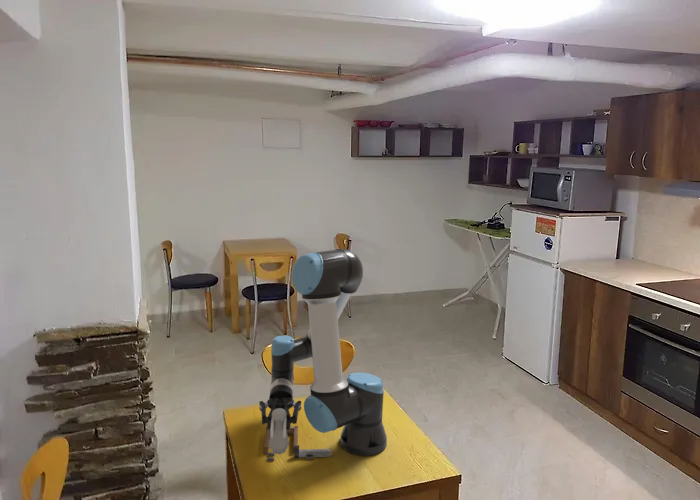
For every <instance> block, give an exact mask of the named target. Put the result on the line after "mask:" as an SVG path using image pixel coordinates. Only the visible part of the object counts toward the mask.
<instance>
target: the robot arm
mask: <svg viewBox="0 0 700 500" xmlns="http://www.w3.org/2000/svg"><path fill="white" fill-rule="evenodd" d="M292 267H293V268H292V275H291V276H292V277H291V279H292V285H293V286H294V289H295V291H296V292H297V293H298V294H300V295H301V299H302V300H303V301H304V302H305V303H307V310H308V321H309V329H308V330H307V332H306V334H305V336H302V337H300V338H296V339H294V338H293V337H292V336H291V335H285V334H283V335H277V336H275V337H274V338H273V339H272V340H271V350H270V352H271V378H270V379H271V381H270V388H269V397H268V399H267V401H266V402H265V401H263V400H260V401H259V407H258V408H259V410H260V413H261V424H262V425H265V424H266V428H267V429H268V430H269V429H270V438H273V433H274V419H273V418H272V412H273V410H275V409H278V408H282V409H284V410H286V413H287V416H286V419H284V425H283V438H286V429H290V426H291V424H292V425H293V424H294V425H296V424H297V421H298V418H299V412H300V411H301V410H302V401H301V400H298V401H295V400H294V398H293V397H294V396H293V395H294V380H295V379H294V377H295V375H294V368H295V367H294V364H295V363H296V362H300V361H303V360H307V359H311V358H312V365H313V366H312V367H313V376H314V381H313V382H312V383H311V384H310V386H309V388H310V389H309V390H310V395H308V396H306V398H305V399H304V402H303V410H304V413H305V418H306V419H307V421H308V422H309V424H310V425H311V427H312V428H313V429H314V430H315V431H316V432H319V433H323V434H325V433H330V432H333V431H336V430H337V429H340V428H342V427H343V428H342V431H341V433H340V441H339V443H340V446H341V448H342V449H344V451H346V452H347V453H350V454H353V455H355V456H363V457H364V456H374V455H376V454H377V455H378V454H380V453H381V452H383V451H384V450H385V449H386V448H387V444H388V440H387V439H388V437H387V433H386V430H385V426H384V424H383V410H384V407H383V405H384V394H385V392H384V383H383V381H382V379H381V378H380V377H379V376H376V375H374V374H371V373H367V372H353V373H350V374H348V376H347V378H346V379H344V377H343V367H342V365H343V364H342V356H341V355H342V352H341V343H340V332H339V331H340V329H339V319H340V317H341V315H342V313H343V311H344V309H345V307H346V305H347V303H348V301H350V297H351V296H352V295H353V294H355V293H356V292H357V291H358V289H359V288H360V285H361V283H362V281H363V277H364V276H363V275H364V268H363V264H362V260H361V259H360V258H359V257H358V255H357V254H356V253H355V252H353V251H351V250H350V249H347V248H338V249H332V250H331V249H330V250H323V251H322V250H321V251H317V252H315V251H314V252H310V253H306V254H303V255H301V256H299V257H298V258H297V259H296V261H295V262H294V265H293V266H292ZM267 408H269V409H270V410H269V413H268V415H267V412H266V411H267ZM291 408H293V412H292V416H291V414H290V409H291Z"/></svg>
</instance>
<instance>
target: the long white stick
mask: <svg viewBox="0 0 700 500" xmlns="http://www.w3.org/2000/svg"><path fill="white" fill-rule="evenodd" d="M306 456H313V458H326V457H327V458H330V457H332V448H313V449H311V448H309V449H308V448H306V449H303V448H302V449H300V445H298V446H294V445H293V458H296V459H297V458H306Z"/></svg>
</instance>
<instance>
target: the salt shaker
mask: <svg viewBox="0 0 700 500" xmlns="http://www.w3.org/2000/svg"><path fill="white" fill-rule="evenodd" d="M286 416H287V413H286V410H284V409H282V408H278V409H275V410H273V412H272V418H273V419H274V433H273V438H270V441H269V448H270V449H271V451H272V452H273V453H274V455H275V454H276V455H282V454H284V453H286V451H287V449H288V447H289V444H290V441H289V437H288V436H289V435H287V431H286V438H283V425H284V419H286Z"/></svg>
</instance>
